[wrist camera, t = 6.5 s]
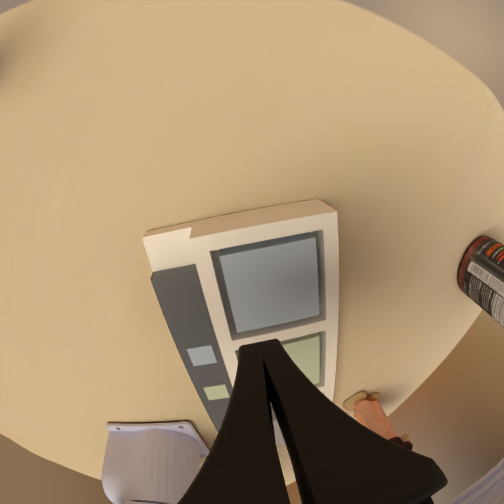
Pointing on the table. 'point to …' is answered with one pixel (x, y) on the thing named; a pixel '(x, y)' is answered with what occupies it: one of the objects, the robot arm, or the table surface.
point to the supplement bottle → (484, 276)
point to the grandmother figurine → (375, 417)
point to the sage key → (305, 354)
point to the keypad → (217, 300)
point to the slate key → (272, 281)
